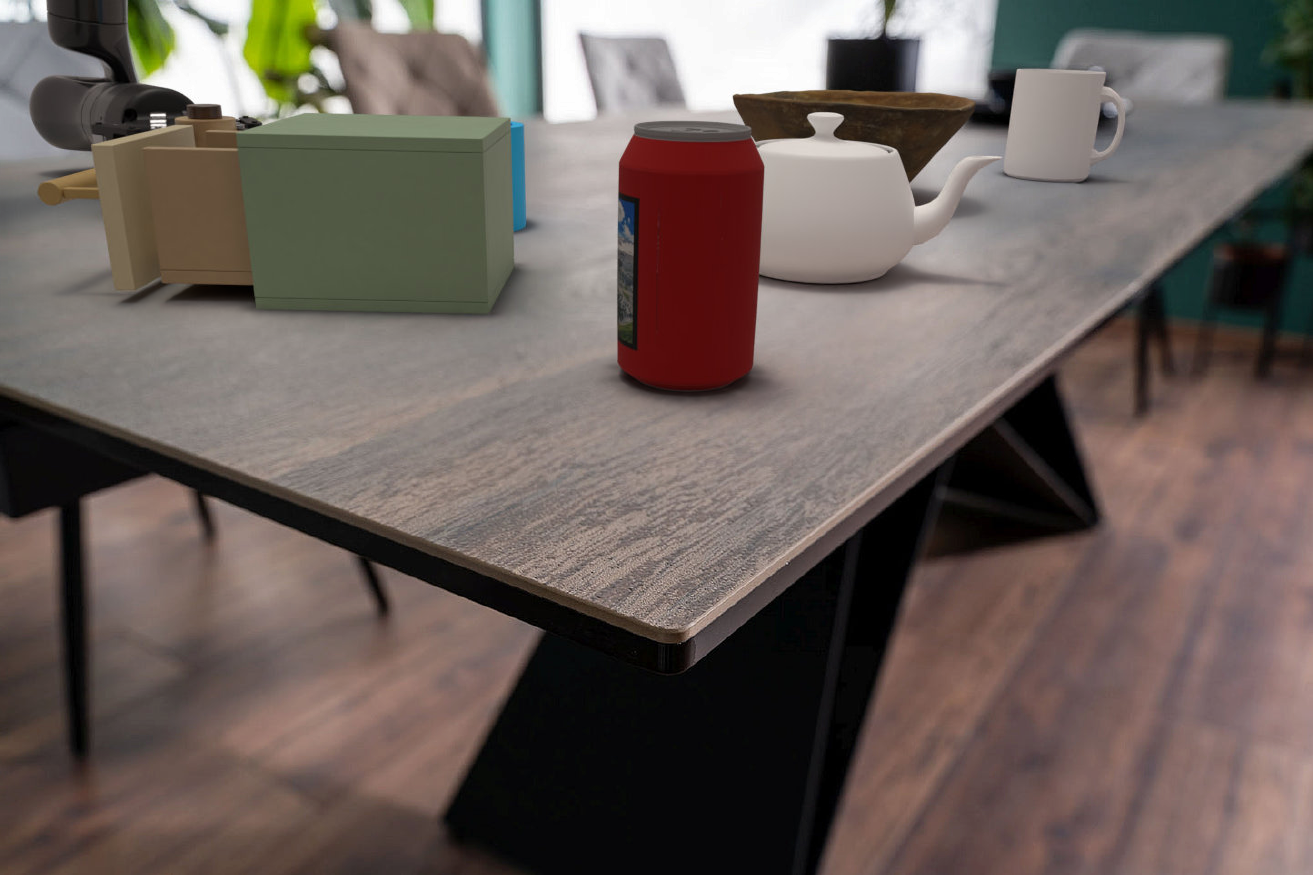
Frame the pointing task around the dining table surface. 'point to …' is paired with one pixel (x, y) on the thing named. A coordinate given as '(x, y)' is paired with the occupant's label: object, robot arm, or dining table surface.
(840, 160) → the teapot
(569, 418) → the dining table surface
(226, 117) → the pepper mill
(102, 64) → the robot arm
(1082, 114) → the mug
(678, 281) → the beverage can
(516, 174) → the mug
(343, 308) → the cabinet
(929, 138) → the bowl
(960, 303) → the dining table surface
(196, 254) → the drawer
